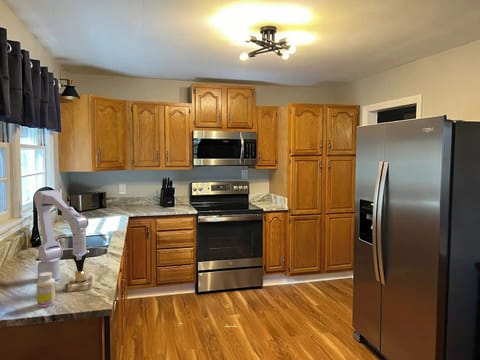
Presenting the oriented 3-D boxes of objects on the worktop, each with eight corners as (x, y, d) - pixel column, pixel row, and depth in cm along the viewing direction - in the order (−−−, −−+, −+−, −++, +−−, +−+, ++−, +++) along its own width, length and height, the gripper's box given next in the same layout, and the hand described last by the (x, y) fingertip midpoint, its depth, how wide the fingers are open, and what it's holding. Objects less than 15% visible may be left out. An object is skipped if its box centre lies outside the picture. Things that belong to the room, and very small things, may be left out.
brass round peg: (75, 288, 165) (74, 273, 165) (75, 285, 169) (75, 270, 168) (84, 287, 166) (84, 272, 166) (84, 284, 170) (84, 269, 170)
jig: (67, 291, 160) (67, 286, 160) (69, 283, 171) (69, 278, 171) (91, 289, 164) (91, 283, 164) (92, 280, 175) (92, 275, 175)
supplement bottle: (46, 300, 151) (45, 270, 150) (59, 302, 149) (58, 272, 148) (33, 306, 145) (32, 275, 144) (46, 308, 143) (45, 277, 142)
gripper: (88, 245, 161) (89, 274, 162) (89, 238, 174) (89, 265, 175) (71, 246, 158) (71, 276, 159) (73, 239, 172) (74, 267, 173)
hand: (80, 270), depth 167 cm, fingers closed
